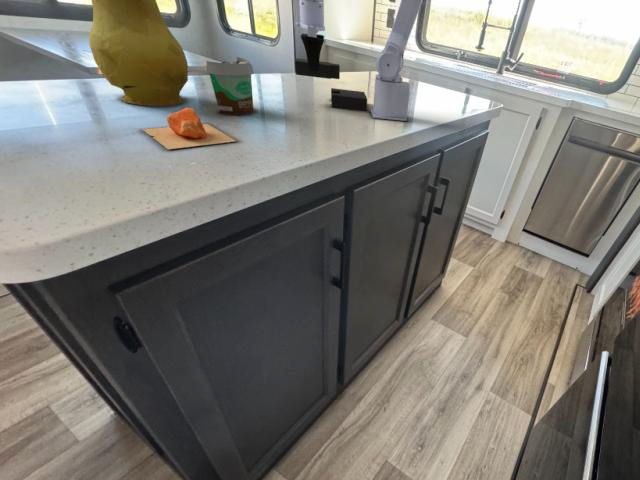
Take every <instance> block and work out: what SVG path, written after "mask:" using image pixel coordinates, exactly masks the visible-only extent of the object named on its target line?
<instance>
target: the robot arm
mask: <svg viewBox="0 0 640 480" xmlns="http://www.w3.org/2000/svg"><path fill="white" fill-rule="evenodd" d="M298 2H299V18H300V22H297V21H296V22H295V26H296V27H300V28H302V29H303V30H307V31H306V32H307V33H301V34H300V39H301V41H302V43H303V44H302V45H303V47H304V50H305V54H306V55H305V56H306V60H308V66H309V70H310V71H318V68H319V61H320V58H321V52H322V48H323V45H324V42H325V35H323V34H317V33H319V32H325V31H326V26H325V1H324V0H299V1H298ZM422 3H423V0H401V1H400V4H399V7H398V10H397V12H396V15H395V18H394V21H393V25H392V27H391V31H390V33H389V35H388V37H387V40H386V42H385V45H384V48H383V49H382V50H381V51H380V52H379V54H378V55H377V57H376V61H375V66H376V67H375V68H376V71H377V74H375V78H374V94H373V108H370V114H371V116H372V118H373V119H384V120H390V121H391V120H392V121H403V122H407V121H408V118H407V116H408V111H409V110H408V109H409V103H410V94H411V93H410V90H411V89H410V83H409V82H408V81H403V77H402V76H401V73H400V72H401V71H402V69H403V67H404V54H405V52H406V49H407V44H408V42H409V40H410V36H411V33H412V31H413V29H414V26H415V23H416V20H417V17H418V14H419V12H420V9H421V7H422Z"/></svg>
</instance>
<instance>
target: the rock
mask: <svg viewBox="0 0 640 480" xmlns="http://www.w3.org/2000/svg"><path fill="white" fill-rule="evenodd" d="M166 120H167V123H168V126H166V127H154V128H142V129H141V130H142V131H143V132H144V133H146V134H147V135H149V136H150V137H152V139H154V140H155V141H156V142H158V143H159V144H160V145H162V146H163V147H165V148H166V149H167V150H174V149H175V150H177V149H184V148H190V147H191V148H192V147H198V146H199V147H200V146H208V145H217V144H225V143H231V142H236V140H235V139H234V138H232V137H231V136H229V135H227V134H225V133H223V131H220V130H218V129H217V128H215V127H214V126H212V125H211V124H208V123H202V121H201V118H200V117H199V115H198V114H197V112H196V111H195V109H194V108H192V107H184V108H183V109H180V110H179V111H175V112H171V113H169V114H168V116H167V119H166Z"/></svg>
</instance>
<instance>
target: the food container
mask: <svg viewBox="0 0 640 480" xmlns="http://www.w3.org/2000/svg"><path fill="white" fill-rule="evenodd" d="M206 74H209V77H210V81H211V85H212V89H213V93H214V96H215V100H216V104H217V107H218V111H219V114H222V115H230V116H243V115H244V116H245V115H250V114H252V113H254V98H253V83H252V75H254V69H253V65H252V63H251V62H250V60H248V59H246V58H243V57H238V56H237V57H236V61H234V62H232V61H231V62H230V61H221V62H218V61H217V62H216V61H209V60H206Z"/></svg>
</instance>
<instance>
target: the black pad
mask: <svg viewBox="0 0 640 480" xmlns="http://www.w3.org/2000/svg"><path fill="white" fill-rule="evenodd" d="M294 66H295V75H296V76H304V77H311V78H319V79H328V80H331V79H333V80H340V79H341V77H340V73H341V71H340V68H341V66H340V64H338V63H331V62H328V61H321V60H319V68H318V71H310V70H309V66H308V60H307V58H306V59H304V58H295V60H294Z"/></svg>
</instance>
